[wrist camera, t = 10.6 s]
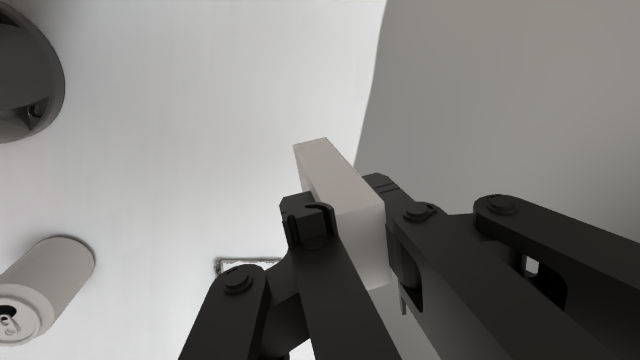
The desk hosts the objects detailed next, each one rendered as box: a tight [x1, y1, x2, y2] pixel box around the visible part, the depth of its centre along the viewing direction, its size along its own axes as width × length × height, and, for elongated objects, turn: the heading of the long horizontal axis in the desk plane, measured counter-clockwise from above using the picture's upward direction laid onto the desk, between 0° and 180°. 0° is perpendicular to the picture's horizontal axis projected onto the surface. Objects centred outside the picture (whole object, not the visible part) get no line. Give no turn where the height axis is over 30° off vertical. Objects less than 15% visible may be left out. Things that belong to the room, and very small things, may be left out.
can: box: [0, 237, 94, 347], centre depth 39 cm, size 8×8×12 cm
